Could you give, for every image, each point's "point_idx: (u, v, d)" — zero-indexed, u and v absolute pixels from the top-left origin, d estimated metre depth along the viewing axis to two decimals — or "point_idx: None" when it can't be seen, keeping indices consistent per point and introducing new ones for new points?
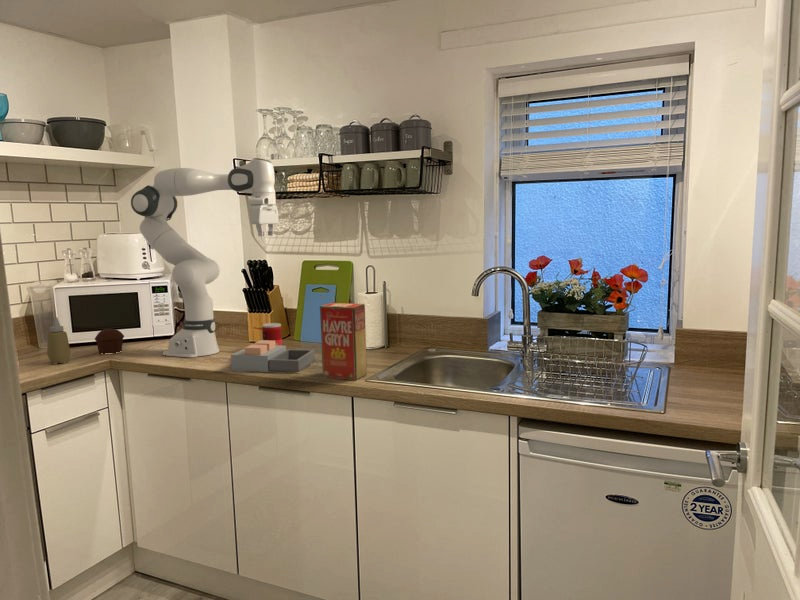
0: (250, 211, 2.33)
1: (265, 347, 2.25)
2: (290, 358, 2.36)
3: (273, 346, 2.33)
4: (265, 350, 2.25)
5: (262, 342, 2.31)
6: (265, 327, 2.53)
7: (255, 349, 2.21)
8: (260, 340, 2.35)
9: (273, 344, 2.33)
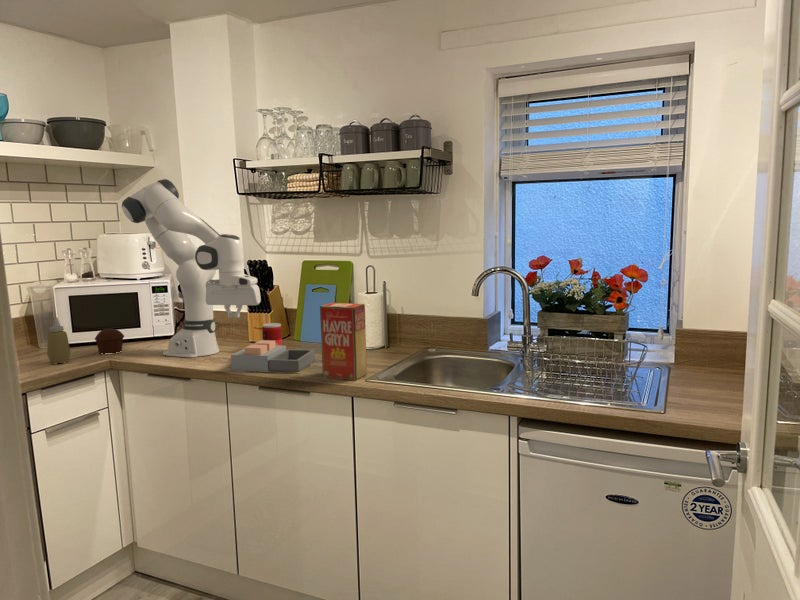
0: (255, 292, 2.20)
1: (265, 347, 2.25)
2: (290, 358, 2.36)
3: (273, 346, 2.33)
4: (265, 350, 2.25)
5: (262, 342, 2.31)
6: (265, 327, 2.53)
7: (255, 349, 2.21)
8: (260, 340, 2.35)
9: (273, 344, 2.33)
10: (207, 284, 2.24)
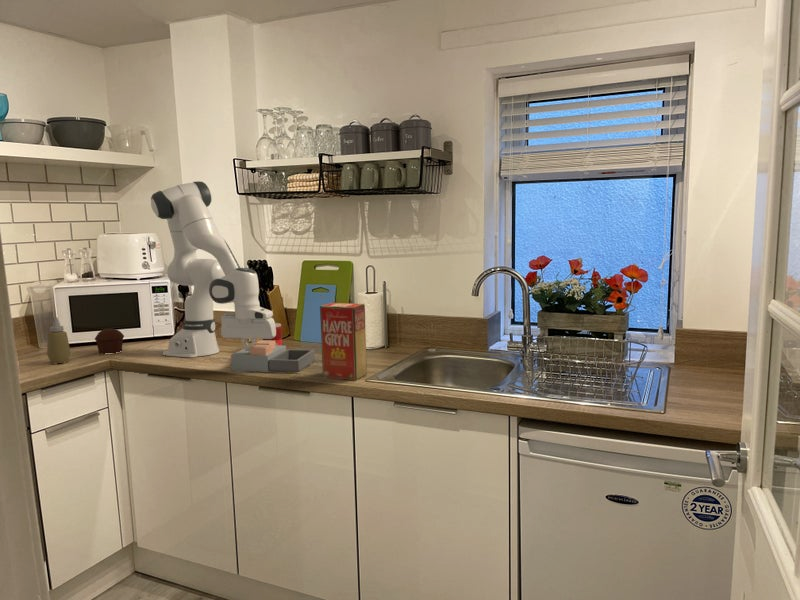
0: (271, 325, 2.19)
1: (270, 347, 2.24)
2: (290, 358, 2.36)
3: (273, 346, 2.33)
4: (270, 350, 2.25)
5: (262, 342, 2.31)
6: None
7: (260, 349, 2.20)
8: (260, 340, 2.35)
9: (273, 344, 2.33)
10: (223, 317, 2.24)
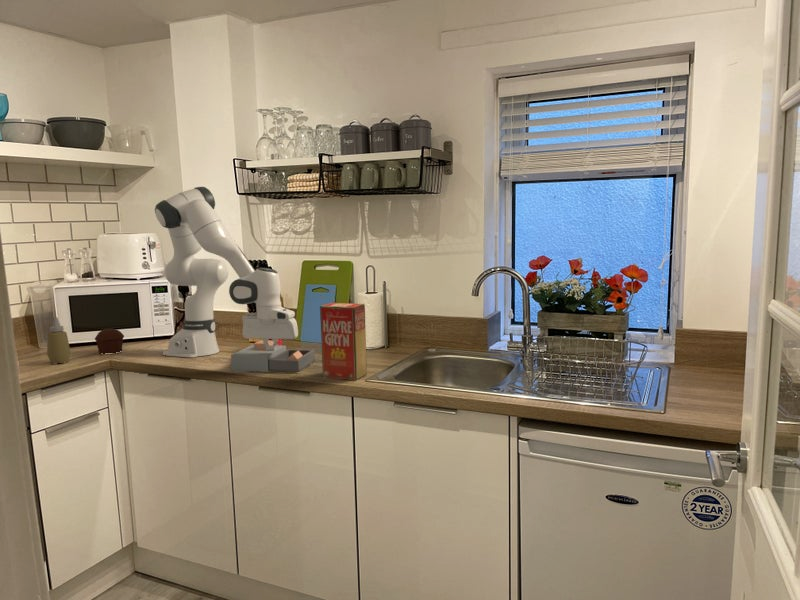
0: (293, 326, 2.18)
1: None
2: None
3: None
4: None
5: (262, 342, 2.31)
6: None
7: None
8: (260, 340, 2.35)
9: None
10: (244, 317, 2.23)
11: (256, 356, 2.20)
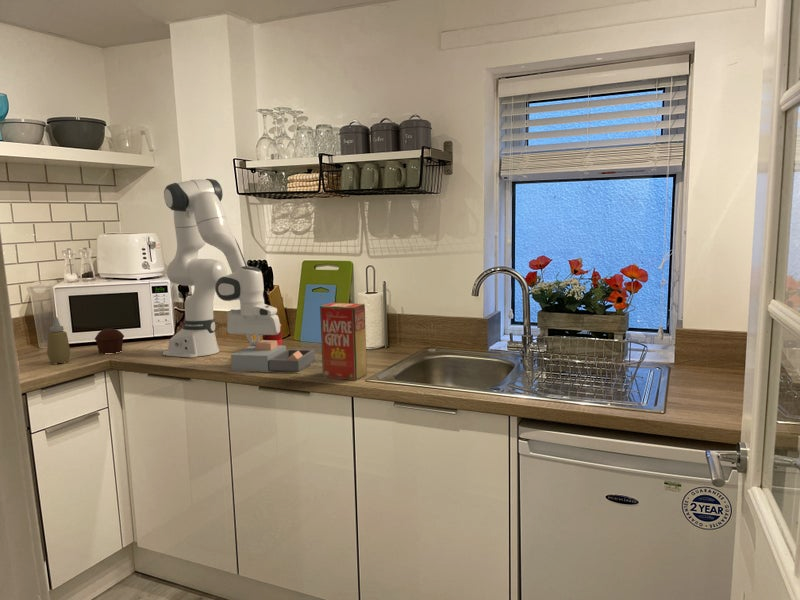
0: (275, 322, 2.27)
1: None
2: None
3: (275, 346, 2.32)
4: None
5: (263, 342, 2.31)
6: None
7: None
8: (262, 340, 2.35)
9: (275, 344, 2.33)
10: (229, 314, 2.32)
11: (256, 356, 2.20)
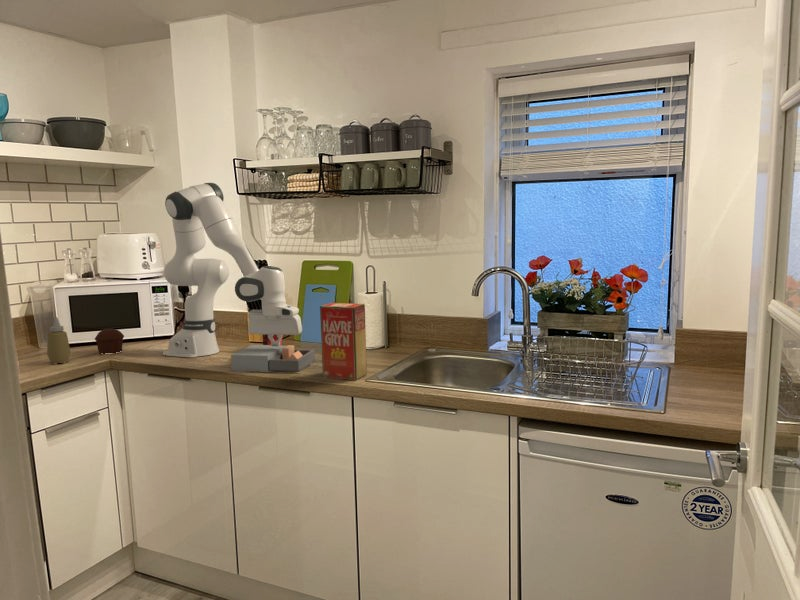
0: (297, 322, 2.26)
1: None
2: None
3: None
4: None
5: (290, 354, 2.29)
6: None
7: None
8: (293, 345, 2.33)
9: None
10: (250, 314, 2.31)
11: (256, 356, 2.20)
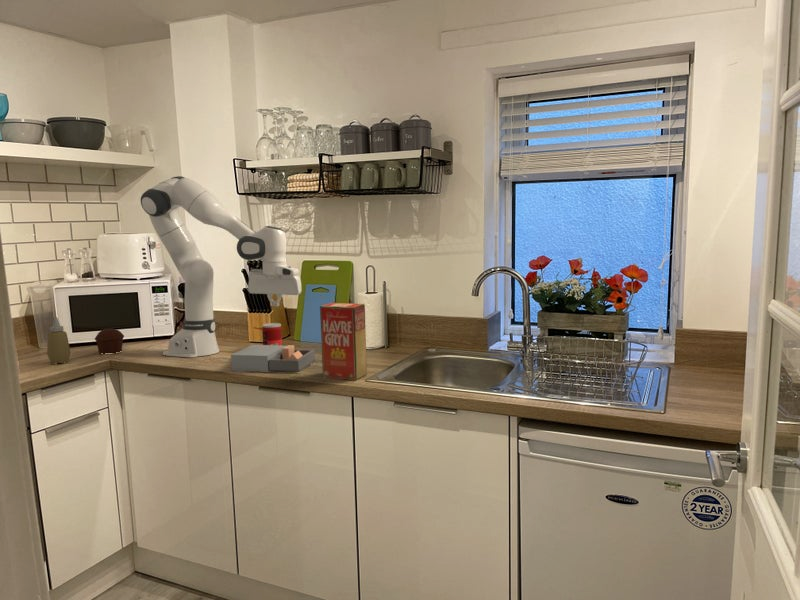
0: (297, 282, 2.29)
1: None
2: None
3: None
4: None
5: (290, 354, 2.29)
6: (265, 327, 2.53)
7: None
8: (293, 345, 2.33)
9: None
10: (250, 273, 2.33)
11: (256, 356, 2.20)
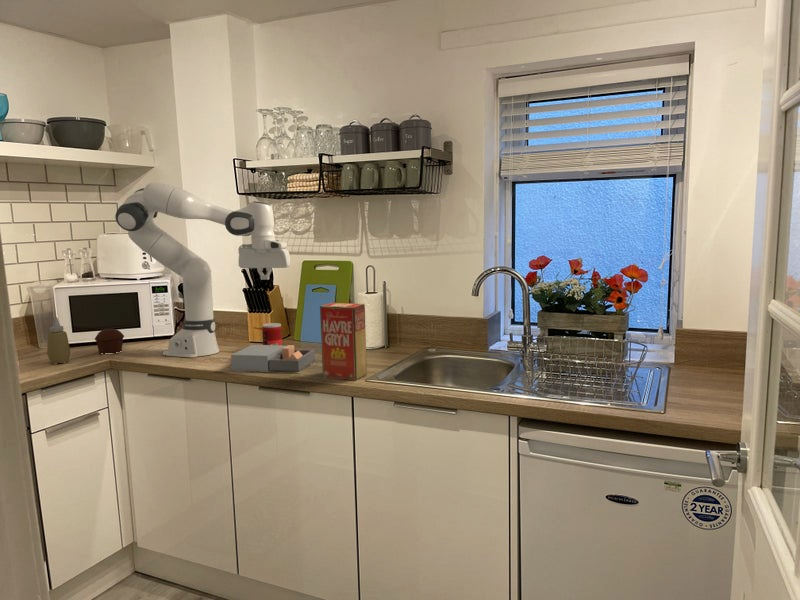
0: (285, 255, 2.35)
1: None
2: None
3: None
4: None
5: (290, 354, 2.29)
6: (265, 327, 2.53)
7: None
8: (293, 345, 2.33)
9: None
10: (240, 248, 2.39)
11: (256, 356, 2.20)
